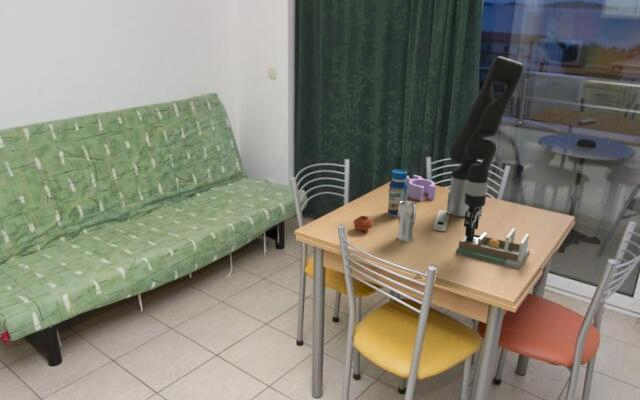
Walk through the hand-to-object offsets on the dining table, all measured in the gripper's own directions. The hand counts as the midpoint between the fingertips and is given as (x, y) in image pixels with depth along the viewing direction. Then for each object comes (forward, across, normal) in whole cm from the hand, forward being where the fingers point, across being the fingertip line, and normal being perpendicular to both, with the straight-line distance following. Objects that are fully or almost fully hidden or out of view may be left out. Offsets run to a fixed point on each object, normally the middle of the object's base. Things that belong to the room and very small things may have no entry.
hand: (471, 232), depth 198 cm
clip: (+6, -48, -40) cm, 63 cm away
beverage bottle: (+6, -17, -38) cm, 42 cm away
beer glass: (+6, +6, -24) cm, 26 cm away
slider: (+4, 0, +1) cm, 5 cm away
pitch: (+6, 0, +9) cm, 11 cm away
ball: (+3, 0, +9) cm, 9 cm away
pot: (+6, +8, -42) cm, 43 cm away
